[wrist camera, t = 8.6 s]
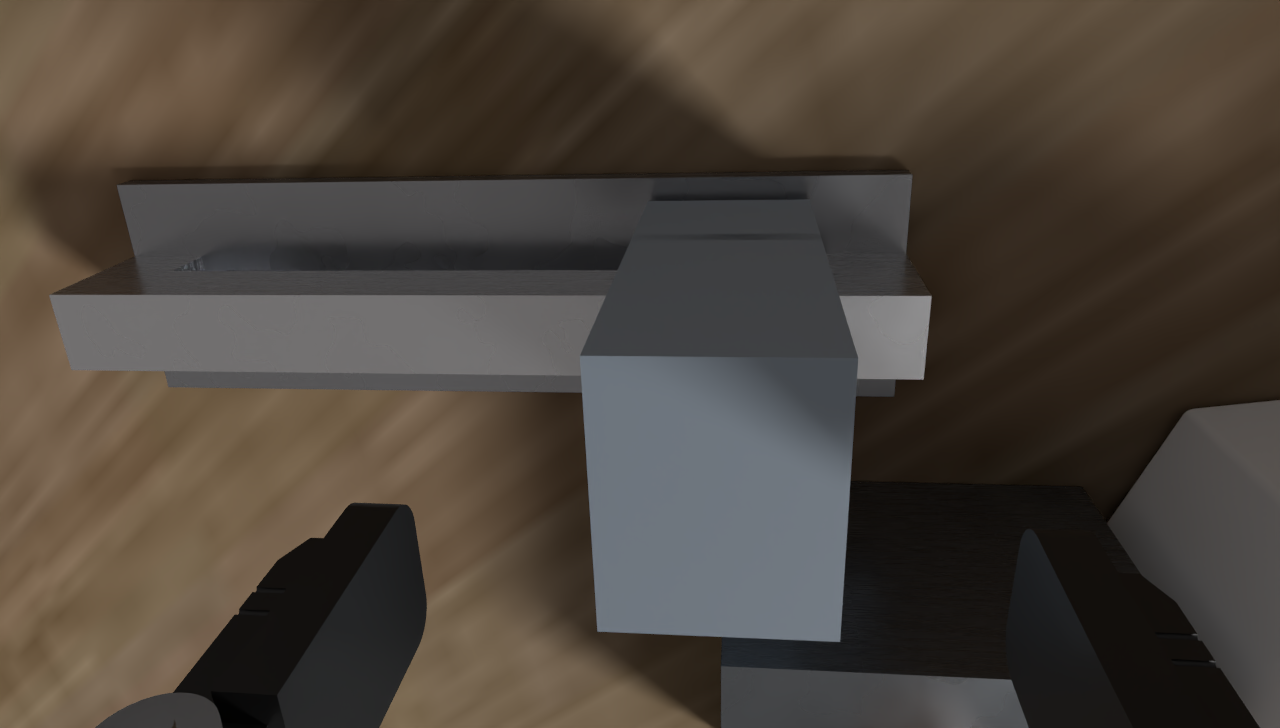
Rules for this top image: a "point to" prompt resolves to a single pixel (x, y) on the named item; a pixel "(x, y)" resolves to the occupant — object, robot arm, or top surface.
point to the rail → (442, 277)
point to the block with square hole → (912, 614)
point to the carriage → (721, 426)
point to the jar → (1217, 539)
